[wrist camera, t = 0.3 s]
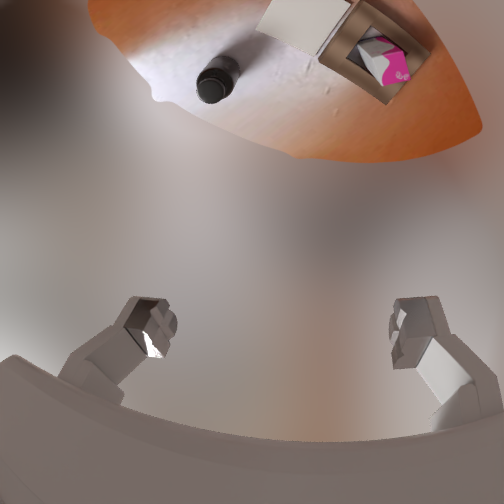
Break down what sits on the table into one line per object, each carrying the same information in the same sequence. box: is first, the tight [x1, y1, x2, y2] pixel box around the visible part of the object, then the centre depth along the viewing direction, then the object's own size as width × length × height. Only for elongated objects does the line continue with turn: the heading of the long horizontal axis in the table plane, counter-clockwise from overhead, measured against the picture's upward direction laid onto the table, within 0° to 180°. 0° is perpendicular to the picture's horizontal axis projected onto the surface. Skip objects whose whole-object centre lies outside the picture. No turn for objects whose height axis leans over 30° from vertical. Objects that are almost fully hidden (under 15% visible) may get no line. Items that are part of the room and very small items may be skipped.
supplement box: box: [356, 36, 411, 86], centre depth 34 cm, size 6×6×12 cm
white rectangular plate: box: [256, 0, 351, 57], centre depth 34 cm, size 14×12×1 cm
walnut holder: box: [318, 0, 431, 105], centre depth 36 cm, size 16×16×3 cm
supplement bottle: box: [196, 56, 240, 104], centre depth 42 cm, size 7×7×12 cm
